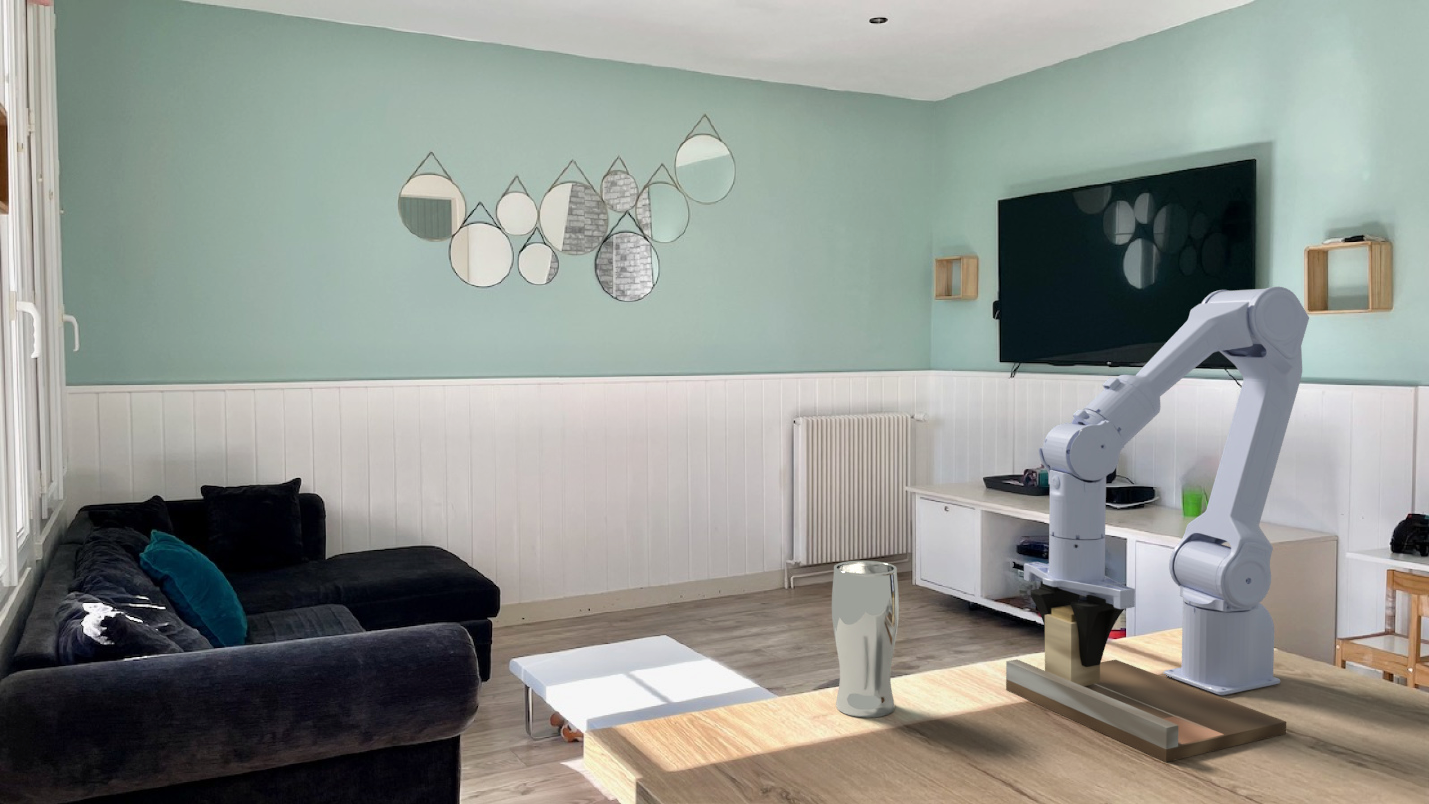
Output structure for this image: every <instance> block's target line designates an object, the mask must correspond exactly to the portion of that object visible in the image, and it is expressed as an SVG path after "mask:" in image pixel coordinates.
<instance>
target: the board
mask: <svg viewBox="0 0 1429 804" xmlns="http://www.w3.org/2000/svg"><path fill="white" fill-rule="evenodd" d="M1005 664H1006V666H1005V667H1006V668H1005V669H1006V670H1005V671H1006V673H1005V674H1006V675H1005V676H1006V677H1005V678H1006V679H1005V690H1006V691H1008V692H1010V693H1013V694H1015V695H1016V696H1019V697H1021V698H1023V699H1026V700H1029V701H1030V702H1032V703H1035V704H1037V705H1038V706H1041V707H1044V708H1045V709H1048V710H1049V711H1052V712H1055V713H1056V714H1059V715H1061V716H1063V717H1065V718H1067V719H1070V720H1072V721H1074V722H1076V723H1079V724H1081V725H1083V726H1085V727H1087V728H1089V729H1091V730H1094V731H1097V732H1099V733H1101V734H1102V735H1105V736H1107V737H1109V738H1111V739H1114V740H1116V741H1118V742H1121V743H1123V744H1125V745H1127V746H1130V747H1131V748H1134V749H1136V750H1138V751H1140V752H1142V753H1144V754H1148V756H1149V755H1150V756H1151V757H1154V758H1156V759H1159V760H1160V761H1163V762H1164V763H1168V762H1172V761H1176V760H1180V759H1185V758H1189V757H1193V756H1197V755H1202V754H1207V753H1211V752H1215V751H1218V750H1223V749H1227V748H1231V747H1237V746H1240V745H1244V744H1248V743H1252V742H1256V741H1260V740H1265V739H1270V738H1273V737H1279V736H1283V735H1286V734H1287V721H1286V720H1284V719H1283V720H1282V719H1280V718H1278V717H1276V716H1272V715H1269V714H1268V713H1267V714H1266V713H1263V712H1260V711H1258V710H1255V709H1253V708H1249V707H1247V706H1244V705H1241V704H1239V703H1237V702H1233V701H1231V700H1228V699H1224V698H1222V697H1220V696H1217V695H1214V694H1212V693H1209V692H1206V691H1203V690H1200V689H1199V688H1198V689H1197V688H1195V687H1192V686H1189V685H1186V684H1183V683H1181V682H1179V681H1175V680H1173V679H1171V678H1169V677H1164V676H1161V675H1159V674H1157V673H1154V672H1151V671H1148V670H1146V669H1142V668H1140V667H1137V666H1135V665H1132V664H1129V663H1126V662H1123V661H1120V660H1118V659H1111V660H1107V661H1105V660H1104V661H1101V663H1100V683H1096V684H1091V685H1087V686H1081V685H1079V684H1076V683H1074V682H1071V681H1069V680H1066V679H1064V678H1061V677H1059V676H1057V675H1054V674H1052V673H1049V672H1047V671H1045V669H1042V668H1039V667H1036V666H1034V665H1031V663H1030V664H1029V663H1027V662H1024V661H1022V660H1020V659H1013V660H1011V659H1010V660H1007V661H1006V663H1005Z"/></svg>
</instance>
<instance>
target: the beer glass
mask: <svg viewBox="0 0 1429 804" xmlns="http://www.w3.org/2000/svg"><path fill="white" fill-rule="evenodd" d="M897 572H898V568H897V566H895V565H893V564H891V563H887V562H883V561H875V560H850V561H843V562H839V563H837V564H834V566H833V578H832V592H831V619H832V626H833V627H832V629H833V634H834V635H833V636H834V639H835V640H834V641H835V646H836V652H837V658H838V663H839V664H838V665H839V683H838V684H839V685H838V689H837V696H836V703H835V706H836V709H837V710H838V711H840V712H841V713H843V714H844V715H847V716H851V717H857V718H863V719H864V718H865V719H866V718H868V719H869V718H870V719H871V718H881V717H885V716H887V715H889V714H891V713H892V712H894V710H895V702H894V701H895V700H894V696H893V690H892V683H891V679H892V678H891V669H892V662H893V656H894V651H895V646H896V645H895V644H896V640H897V634H898V627H899V626H898V625H899V615H900V613H899V611H900V605H899V603H900V601H899V597H900V596H899V584H898V574H897Z"/></svg>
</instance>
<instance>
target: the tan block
mask: <svg viewBox="0 0 1429 804" xmlns="http://www.w3.org/2000/svg"><path fill="white" fill-rule="evenodd" d="M1044 671H1047V672H1049V673H1052V674H1054V675H1057V676H1059V677H1061V678H1064V679H1066V680H1069V681H1071V682H1074V683H1076V684H1079V685H1081V686H1087V685H1091V684H1096V683H1100V665H1096V666H1091V667H1085V666H1082V664H1081V660H1080V651H1079V633H1078V627H1077V622H1076V619H1075V615H1074V612H1073V610H1072V607H1071V605H1067V606H1061V607H1056V608H1052V614H1047V615H1045V626H1044Z"/></svg>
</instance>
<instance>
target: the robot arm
mask: <svg viewBox="0 0 1429 804" xmlns="http://www.w3.org/2000/svg"><path fill="white" fill-rule="evenodd" d="M1309 320H1310V317H1309V314H1308V313H1307V311H1306V310H1305V308H1304V306H1303V305H1302V303H1301V302H1300V299H1299V298H1298V297H1297V295H1296V294H1295V292H1293V291H1291V290H1290V289H1288V288H1286V287H1283V286H1270V287H1267V288H1255V289H1253V288H1252V289H1239V290H1238V289H1237V290H1227V289H1219V290H1216V291H1213V292H1210V293H1209V294H1208V295H1207V296H1206V297H1204V299H1203V300H1202V301H1201V303H1198V304H1197V305H1195V306H1194V307H1193V308H1191V309H1190V311H1189V315H1188V318H1187V320H1186V321H1185V322H1184V323H1183V325H1182V326H1181V327H1179V329H1178V330H1177V331H1176V332H1175V333H1174V334H1173V335H1172V336H1171V337H1170V338H1169V339H1168V340H1167V342H1165V343H1164V345H1163V346H1161V348H1160V349H1159V350H1158V351H1157V352H1156V353H1155V354H1154V355H1153V356H1152V357H1151V358H1150V359H1149V360H1148V361H1147V362H1146V364H1145V365H1144V366H1142V368H1141V369H1140V370H1139V371H1138V372H1137V373H1136V374H1135V375H1134V374H1133V375H1132V374H1120V375H1118V376H1117V377H1116V378H1115V377H1109V378H1108V379H1107V380H1105V382H1103V383H1102V387H1103V388H1104V389H1103V390H1102V391H1101V392H1100V393H1098V395H1097V396H1095V398H1093V399H1092V400H1091V401H1090V402H1089V403H1088V404H1087V405H1086V406H1085V407H1083V408H1082V409H1081V408H1079V409H1078V408H1077V410H1076V411H1075V412H1074V413H1073V414H1072V417H1073V418H1072V420H1071V423H1070V422H1064V423H1060V424H1058V425H1055V426H1054V427H1052V428H1051V430H1050V431H1048V432H1047V434H1046V436H1045V438H1044V441H1043V444H1042V446H1041V447H1039V448H1038V457H1039V460H1040V462H1041V464H1042V466H1043V467H1044V468H1045V469H1046V471H1047V473H1048V485H1049V516H1048V517H1049V518H1048V519H1049V524H1048V526H1049V527H1048V529H1049V531H1048V532H1049V536H1048V537H1049V538H1048V539H1049V540H1048V542H1049V543H1048V547H1049V548H1048V563H1044V562H1039V561H1033V562H1027V563H1024V564H1023V580H1024V581H1026V582H1031V583H1032V582H1036V583H1040V586H1038V588H1035V589H1031V590H1030V598H1031V599H1032V601H1033V603H1034V604H1035V607H1036V608H1037V611H1038V612H1039V614H1040V616H1041V620H1042V623H1043V625H1044V627H1045V615H1047V614H1052V608H1056V607H1061V606H1067V605H1071V607H1072V610H1073V612H1074V615H1075V619H1076V622H1077V627H1078V633H1079V651H1080V660H1081V664H1082V666H1085V667H1091V666H1096V665H1100V663H1101V662H1102V660H1103V659H1102V658H1103V656H1104V652H1105V648H1106V647H1107V646H1106V645H1107V643H1108V639H1109V637H1110V634H1111V632H1112V629H1113V628H1114V625H1115V624H1116V622H1117V620H1118V619H1119V618H1120V617H1121V615H1122V613H1123V612H1124V610H1125V609H1132V608H1135V605H1136V601H1135V600H1136V598H1135V597H1136V594H1135V593H1136V589H1135V588H1133V587H1129V586H1127V585H1124V584H1122V583H1120V582H1119V581H1117V580H1115V579H1112V578H1110V577H1109V576H1107V575H1106V573H1105V572H1106V568H1105V567H1106V511H1107V510H1106V506H1107V505H1106V502H1107V501H1106V500H1107V499H1106V498H1107V476H1108V475H1110V474H1113V472H1115V470H1116V468H1117V466H1118V464H1119V460H1120V454H1121V451H1122V450H1123V449H1124V448H1125V446H1126V445H1127V444H1128V443H1129V442H1130V441H1131V440H1132V439H1133V438H1134V437H1135V436H1136V435H1138V433H1140V431H1141V430H1143V428H1144V427H1146V426H1147V425H1148V424H1150V422H1151V421H1152V420H1153V419H1154V418H1155V417H1157V415H1159V413H1160V411H1161V396H1163V395H1164V394H1165V393H1167V391H1169V390H1170V389H1171V388H1172V387H1174V386H1175V385H1176V384H1177V383H1178V382H1179V381H1181V380H1182V379H1183V378H1184V377H1186V376H1187V375H1188V374H1189V373H1191V372H1193V370H1194V369H1196V367H1198V366H1199V365H1201V363H1202V362H1204V361H1205V360H1206V359H1208V358H1209V357H1210V356H1212V354H1213V353H1217V352H1219V353H1221V354H1222V356H1224V357H1225V358H1226V359H1228V360H1229V361H1230V362H1231V363H1232V364H1233V365H1234V366H1235V367H1236V369H1237V370H1238V372H1239V373H1240V375H1241V377H1242V378H1243V381H1242V384H1241V388H1240V392H1239V394H1238V397H1237V401H1236V405H1235V409H1234V413H1233V415H1232V419H1231V422H1230V426H1229V429H1228V433H1227V437H1226V441H1225V443H1224V447H1223V451H1222V455H1221V458H1220V460H1219V465H1218V468H1217V472H1216V476H1215V479H1214V482H1213V485H1212V489H1211V493H1210V496H1209V499H1208V502H1207V503H1208V504H1207V507H1206V510H1205V511H1204V512H1203V513H1201V514H1200V515H1198V516H1197V517H1196V518H1194V519H1193V520H1192V521H1190V522H1189V523H1187V524H1186V528H1185V531H1184V534H1183V537H1182V538H1181V539H1180V541H1179V542H1178V543H1177V545H1176V546H1174V548H1173V550H1172V552H1171V555H1170V558H1169V563H1168V570H1169V574H1170V578H1171V579H1172V581H1173V582H1174V583H1175V584H1176V585H1177V586H1178V587H1179V596H1180V597H1181V598H1182V625H1181V627H1182V629H1181V631H1182V632H1181V633H1182V635H1181V667H1176V668H1171V669H1165V670H1163V675H1164V674H1166V675H1167V676H1166V675H1165V676H1166V677H1168V676H1169V677H1168V678H1171V677H1172V679H1175V680H1177V681H1178V682H1179V681H1180V682H1183V683H1185V684H1188V685H1191V686H1193V687H1197V688H1198V689H1199V688H1200V689H1202V690H1205V691H1207V692H1210V693H1213V694H1216V695H1219V696H1225V695H1231V694H1235V693H1239V692H1245V691H1249V690H1255V689H1259V688H1264V687H1270V686H1274V685H1277V684H1280V683H1281V680H1280V678H1278V677H1275V676H1274V665H1275V663H1274V661H1275V659H1274V658H1275V625H1274V624H1275V623H1274V620H1273V617H1272V615H1271V613H1270V612H1269V610H1268V608H1266V607H1265V606H1264V605H1263V604H1262V603H1261V602H1262V601H1263V600H1264V599H1265V598H1266V596H1267V595H1268V592H1269V590H1270V588H1271V583H1272V572H1271V557H1272V554H1273V551H1274V548H1273V545H1272V543H1271V542H1270V540H1269V539H1268V538H1267V536H1266V534H1265V533H1264V531H1263V530H1262V529H1261V527H1260V523H1261V519H1262V517H1263V512H1264V510H1265V505H1266V501H1267V498H1268V496H1269V493H1270V492H1269V491H1270V488H1271V485H1272V480H1273V478H1274V474H1275V470H1276V467H1277V463H1278V460H1279V456H1280V453H1281V450H1282V446H1283V442H1284V439H1285V435H1286V432H1287V428H1288V425H1289V422H1290V418H1291V415H1292V412H1293V407H1294V404H1295V400H1296V398H1297V397H1296V396H1297V394H1298V390H1299V386H1300V382H1301V379H1302V377H1303V357H1302V356H1303V354H1302V346H1303V341H1304V339H1305V338H1304V337H1305V334H1306V332H1307V331H1306V330H1307V327H1308V324H1309ZM1225 543H1228V544H1229V545H1228V546H1227V545H1224V544H1225ZM1080 596H1084V597H1086V599H1082V600H1080Z"/></svg>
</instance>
